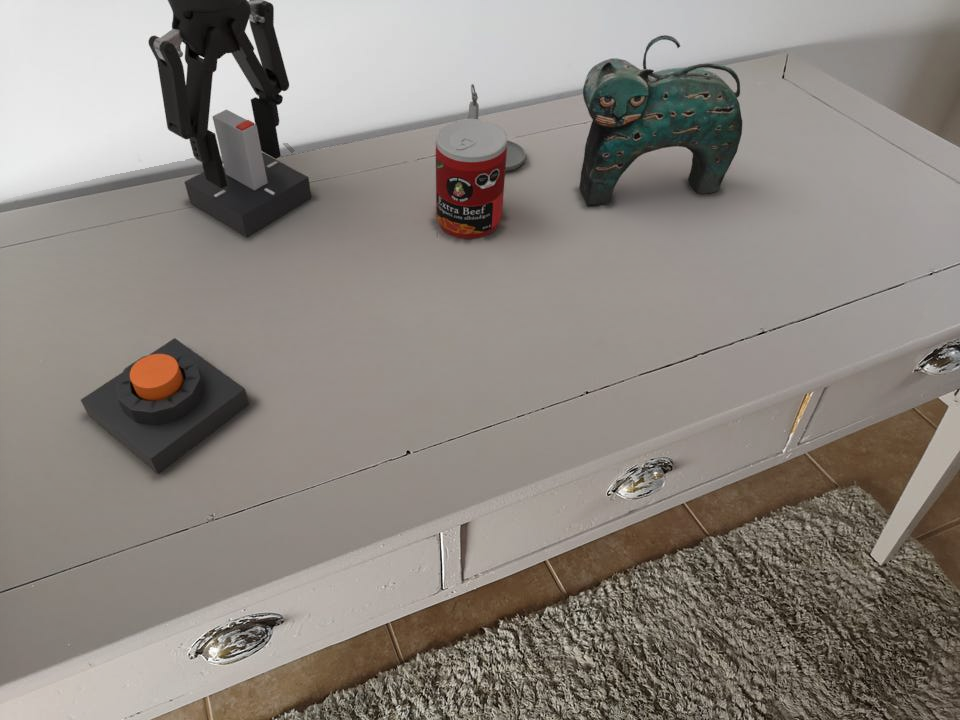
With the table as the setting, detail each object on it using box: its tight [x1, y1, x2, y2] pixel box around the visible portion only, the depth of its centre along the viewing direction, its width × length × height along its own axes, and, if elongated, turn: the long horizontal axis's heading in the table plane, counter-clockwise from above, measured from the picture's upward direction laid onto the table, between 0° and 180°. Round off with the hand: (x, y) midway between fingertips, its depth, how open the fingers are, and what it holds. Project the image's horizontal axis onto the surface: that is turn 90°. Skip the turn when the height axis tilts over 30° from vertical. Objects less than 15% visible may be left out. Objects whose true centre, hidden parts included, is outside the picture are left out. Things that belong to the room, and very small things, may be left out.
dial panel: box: [184, 152, 312, 238], centre depth 91 cm, size 10×10×3 cm
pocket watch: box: [467, 83, 526, 172], centre depth 97 cm, size 8×8×10 cm
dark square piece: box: [80, 337, 250, 475], centre depth 69 cm, size 10×10×4 cm
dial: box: [212, 109, 268, 190], centre depth 87 cm, size 5×2×8 cm, turn 52°
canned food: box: [435, 118, 508, 239], centre depth 88 cm, size 8×8×11 cm
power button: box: [130, 354, 183, 401], centre depth 67 cm, size 4×4×2 cm
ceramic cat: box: [578, 34, 743, 207], centre depth 90 cm, size 20×6×20 cm, turn 101°
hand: (244, 167), depth 89 cm, fingers open, 7 cm apart
